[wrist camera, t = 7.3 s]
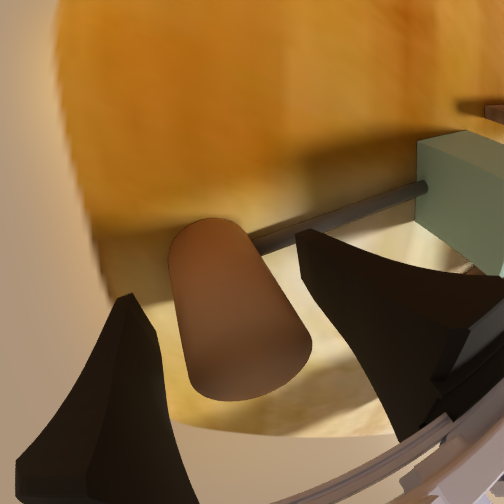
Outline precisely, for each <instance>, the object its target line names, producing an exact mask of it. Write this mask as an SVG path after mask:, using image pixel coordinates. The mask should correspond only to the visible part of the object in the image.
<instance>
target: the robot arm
mask: <svg viewBox="0 0 504 504" xmlns="http://www.w3.org/2000/svg"><path fill="white" fill-rule="evenodd" d="M295 240H296V247H297V253H298V260H299V266H300V273H301V278H302V280H303V282H304V284H305V286H306V287H307V289H308V291H309V292H310V294H311V296H312V297H313V299H314V301H315V302H316V303H317V304H318V306H319V307H320V308H321V310H322V311H323V312H324V314H325V315H326V316H327V318H328V319H329V320H330V321H331V323H332V324H333V325H334V327H335V328H336V329H337V330H338V332H339V333H340V334H341V336H342V337H343V338H344V340H345V341H346V342H347V344H348V345H349V347H350V348H351V349H352V351H353V353H354V354H355V356H356V358H357V359H358V361H359V363H360V365H361V366H362V368H363V370H364V371H365V373H366V375H367V377H368V379H369V381H370V382H371V384H372V386H373V388H374V390H375V392H376V394H377V396H378V398H379V400H380V402H381V404H382V406H383V408H384V410H385V412H386V414H387V416H388V418H389V420H390V423H391V425H392V427H393V429H394V432H395V434H396V436H397V439H398V441H399V443H400V444H398V445H397V446H395V447H393V448H391V449H390V450H388V451H386V452H385V453H383V454H381V455H379V456H378V457H376V458H374V459H372V460H370V461H369V462H367V463H365V464H363V465H361V466H359V467H357V468H355V469H353V470H351V471H349V472H347V473H346V474H343V475H341V476H339V477H337V478H335V479H332V480H330V481H328V482H326V483H323V484H321V485H319V486H316V487H314V488H312V489H309V490H307V491H304V492H302V493H299V494H297V495H294V496H291V497H288V498H286V499H283V500H280V501H277V502H274V503H271V504H335V503H337V502H339V501H342V500H344V499H346V498H348V497H350V496H352V495H354V494H356V493H358V492H360V491H362V490H364V489H366V488H368V487H370V486H371V485H373V484H376V483H377V482H379V481H381V480H383V479H384V478H386V477H388V476H390V475H391V474H393V473H395V472H396V471H398V470H400V469H401V468H403V467H404V466H406V465H407V464H409V463H411V462H412V461H414V460H415V459H417V458H418V457H420V456H421V455H422V454H424V453H426V452H427V451H428V450H430V449H431V448H433V447H434V446H435V445H437V444H438V443H439V442H440V446H439V448H438V449H437V450H436V451H435V452H433V453H432V454H431V455H429V456H428V457H427V458H425V459H424V460H423V461H421V462H420V463H418V464H417V465H416V466H414V468H413V469H412V470H411V471H410V472H409V473H407V474H406V475H405V476H403V477H402V478H401V479H400V480H399V482H400V484H401V486H402V487H403V489H404V493H403V494H401V495H400V496H398V497H396V498H395V499H393V500H391V501H389V502H388V503H386V504H492V503H491V501H490V500H489V498H488V496H487V495H486V492H487V491H488V490H490V491H491V493H492V494H494V495H495V496H496V497H504V279H503V278H502V277H500V276H497V275H468V274H458V273H449V272H442V271H436V270H431V269H426V268H421V267H416V266H412V265H408V264H405V263H401V262H397V261H394V260H390V259H387V258H384V257H381V256H378V255H376V254H373V253H370V252H367V251H365V250H362V249H359V248H357V247H354V246H352V245H350V244H347V243H345V242H342V241H340V240H338V239H335V238H333V237H331V236H328V235H326V234H324V233H321V232H319V231H316V230H314V229H311V228H309V229H306V230H303V231H301V232H298V233H295ZM15 496H16V498H17V499H18V500H19V501H20V502H22V503H24V504H199V501H198V499H197V497H196V495H195V492H194V490H193V488H192V486H191V483H190V480H189V478H188V476H187V473H186V470H185V467H184V465H183V462H182V459H181V456H180V453H179V450H178V447H177V444H176V441H175V437H174V433H173V430H172V426H171V422H170V418H169V413H168V407H167V399H166V391H165V383H164V374H163V365H162V356H161V351H160V346H159V342H158V338H157V333H156V331H155V329H154V327H153V326H152V324H151V323H150V321H149V319H148V318H147V316H146V315H145V313H144V311H143V310H142V308H141V306H140V305H139V303H138V301H137V300H136V298H135V296H134V295H133V293H130V294H128V295H125V296H122V297H119V298H117V300H116V302H115V304H114V306H113V308H112V310H111V312H110V314H109V316H108V319H107V321H106V323H105V325H104V327H103V329H102V332H101V334H100V336H99V338H98V340H97V343H96V345H95V347H94V349H93V351H92V353H91V355H90V357H89V359H88V361H87V363H86V365H85V367H84V369H83V371H82V372H81V374H80V376H79V378H78V380H77V381H76V383H75V385H74V386H73V388H72V390H71V391H70V393H69V395H68V396H67V398H66V399H65V400H64V402H63V403H62V405H61V406H60V408H59V409H58V411H57V413H56V414H55V415H54V417H53V418H52V419H51V421H50V422H49V423H48V425H47V426H46V427H45V428H44V430H43V431H42V432H41V433H40V435H39V436H38V437H37V438H36V440H35V441H34V442H33V443H32V444H31V445H30V446H29V447H28V448H27V449H26V450H25V452H23V453H22V455H21V456H20V457H19V458H18V459H17V460H16V468H15Z"/></svg>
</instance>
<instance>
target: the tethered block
mask: <svg viewBox="0 0 504 504" xmlns="http://www.w3.org/2000/svg"><path fill="white" fill-rule="evenodd" d="M413 198H416V208H415V222H417V223H418V224H420V225H421V226H423V227H424V228H425V229H427V230H428V231H430V232H431V233H432V234H434V235H435V236H437V237H438V238H439V239H441V240H442V241H444V242H445V243H446V244H448V245H449V246H450V247H452V248H453V249H454V250H456V251H457V252H458V253H460V254H461V255H462V256H464V257H465V258H466V259H467V260H469V261H470V262H471V263H473V264H474V265H475V266H476V267H478V268H479V269H480V270H481V271H482V272H484V273H485V274H486V275H497V276H500V277H502V278H503V277H504V145H503V144H501V143H499V142H496V141H494V140H491V139H489V138H486V137H484V136H481V135H478V134H476V133H473V132H470V131H467V130H465V131H460V132H456V133H451V134H446V135H442V136H437V137H432V138H428V139H424V140H419V141H417V182H414V183H411V184H408V185H406V186H403V187H400V188H397V189H394V190H391V191H388V192H386V193H383V194H380V195H377V196H374V197H371V198H369V199H366V200H363V201H360V202H357V203H354V204H352V205H349V206H346V207H343V208H340V209H338V210H335V211H332V212H329V213H326V214H324V215H321V216H318V217H315V218H313V219H310V220H307V221H304V222H301V223H299V224H296V225H293V226H290V227H288V228H285V229H282V230H279V231H277V232H274V233H271V234H268V235H266V236H263V237H260V238H257V239H255V240H252V241H251V240H250V238H249V237H248V235H247V234H246V232H245V231H244V230H243V229H242V228H241V227H240V226H238V225H237V224H235V223H233V222H231V221H228V220H225V219H218V218H211V219H204V220H200V221H197V222H195V223H193V224H191V225H189V226H187V227H186V228H185V229H183V230H182V231H181V232H180V233H179V234H178V235H177V236H176V238H175V239H174V241H173V242H172V244H171V247H170V249H169V253H168V266H169V273H170V279H171V286H172V292H173V298H174V304H175V310H176V316H177V321H178V327H179V332H180V337H181V342H182V347H183V352H184V357H185V362H186V366H187V371H188V376H189V380H190V383H191V385H192V386H193V388H194V389H195V390H196V391H197V392H198V393H200V394H201V395H203V396H205V397H207V398H210V399H214V400H218V401H242V400H248V399H252V398H256V397H259V396H262V395H265V394H267V393H270V392H272V391H274V390H276V389H278V388H279V387H281V386H283V385H284V384H286V383H287V382H289V381H290V380H291V379H292V378H293V377H295V376H296V375H297V374H298V373H299V372H300V371H301V369H302V368H303V367H304V366H305V364H306V363H307V361H308V359H309V357H310V354H311V351H312V339H311V336H310V334H309V332H308V330H307V329H306V327H305V326H304V324H303V322H302V321H301V319H300V318H299V316H298V314H297V313H296V311H295V310H294V308H293V306H292V305H291V303H290V302H289V300H288V299H287V297H286V295H285V294H284V292H283V291H282V289H281V287H280V286H279V284H278V283H277V281H276V280H275V278H274V276H273V275H272V273H271V272H270V270H269V268H268V267H267V265H266V264H265V262H264V261H263V259H262V257H261V256H263V255H266V254H269V253H271V252H274V251H277V250H279V249H282V248H285V247H287V246H290V245H293V244H295V243H296V240H295V233H298V232H301V231H303V230H306V229H309V228H311V229H314V230H316V231H319V232H321V233H324V232H327V231H330V230H332V229H335V228H337V227H340V226H343V225H345V224H348V223H351V222H353V221H356V220H358V219H361V218H364V217H366V216H369V215H371V214H374V213H377V212H379V211H382V210H384V209H387V208H390V207H392V206H395V205H397V204H400V203H403V202H405V201H408V200H410V199H413Z"/></svg>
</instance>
